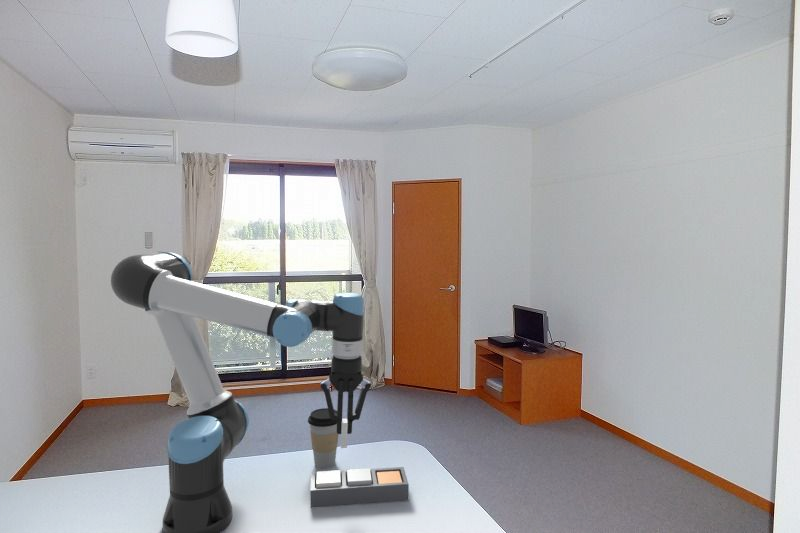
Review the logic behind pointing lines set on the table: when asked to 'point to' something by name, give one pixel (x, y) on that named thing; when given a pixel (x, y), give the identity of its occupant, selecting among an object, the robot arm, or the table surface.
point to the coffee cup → (323, 437)
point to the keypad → (359, 491)
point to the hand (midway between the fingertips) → (343, 445)
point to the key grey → (359, 477)
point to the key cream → (328, 479)
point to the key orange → (388, 477)
